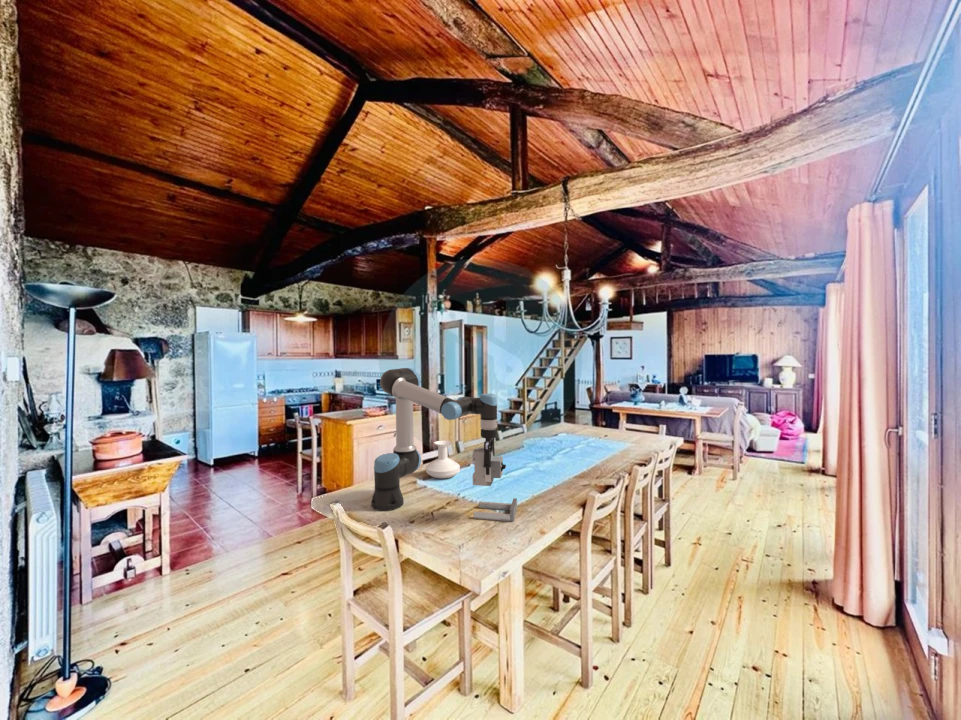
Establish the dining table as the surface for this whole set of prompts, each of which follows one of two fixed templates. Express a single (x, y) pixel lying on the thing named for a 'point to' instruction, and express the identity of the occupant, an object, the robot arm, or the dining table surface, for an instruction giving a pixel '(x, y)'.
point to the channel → (497, 516)
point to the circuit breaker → (480, 470)
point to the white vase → (442, 463)
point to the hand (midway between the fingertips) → (489, 478)
